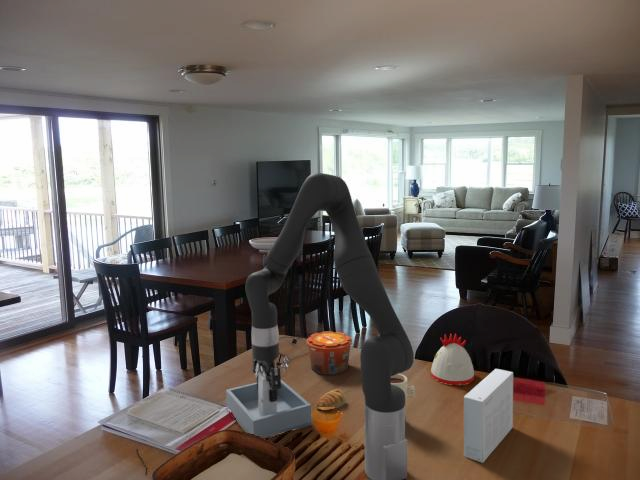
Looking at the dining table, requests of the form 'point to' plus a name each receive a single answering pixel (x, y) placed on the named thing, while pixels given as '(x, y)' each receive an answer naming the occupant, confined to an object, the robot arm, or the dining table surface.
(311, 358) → the food container
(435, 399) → the dining table surface
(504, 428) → the skincare box
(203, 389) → the dining table surface
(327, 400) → the pastry
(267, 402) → the skincare box
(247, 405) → the tote
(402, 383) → the character mug
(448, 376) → the chicken hat
